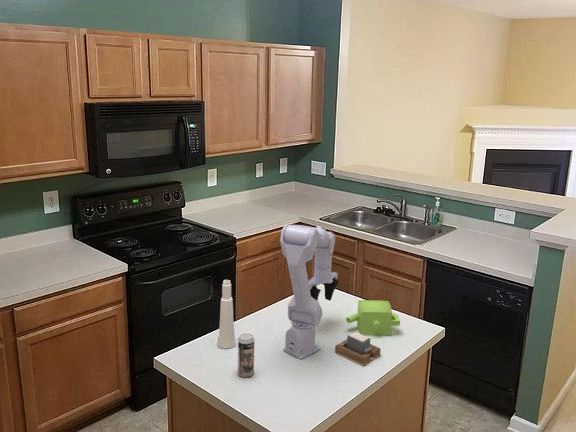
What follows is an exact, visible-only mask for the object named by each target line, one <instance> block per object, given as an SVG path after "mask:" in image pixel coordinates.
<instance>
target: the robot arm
mask: <svg viewBox="0 0 576 432" xmlns="http://www.w3.org/2000/svg"><path fill="white" fill-rule="evenodd" d="M280 232H281V233H280V238H279V243H280V247H281V252H282V256H284V257H285V258H286V261H287V266H288V273H289V277H290V282H291V287H292V293H293V296H292V297H291V299H290V300H289V302H288V304H287V318H288V320H289V321H290V324H291V327H290V328H288V329H287V330H286V332H285V345H284V347H283V351H284V352H286V353H288V354H290V355H292V356H294V357H296V358H297V359H300V360H302V359H304V358H306V357H308V356H311V355H312V354H313V353H316V352H317V351H320V350H321V346H318V345H316V331H317V326H319V325H320V323H321V321H322V318H323V307H322V306H321V305H320V302H319V301H318V300H319V295H320V293H321V291H322V289H319V288H318V286H320V285H323V286H324V298H325V300H327V301H332V297H333V295H334V292H335V290H336V288H337V286H338V285H339V280H338V277H339V275H338V274H339V273H338V272H335V271H332V265H333V264H332V262H333V261H332V258H333V254H334V249H335V244H336V234H335V233H333V231H328V230H326V228H323V226H321V225H320V226H319V225H317V226H316V227H313V226H309V225H300V224H288V223H287V224H285V225H284V226H283V227H282V229H281V231H280ZM313 257H314V264H313V265H314V266H313V276H312V277H311V278H310V279H309V278H308V277H309V276H308V271H307V266H306V265H307V262H309V261H311V260H313Z"/></svg>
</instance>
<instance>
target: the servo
mask: <svg viewBox="0 0 576 432" xmlns="http://www.w3.org/2000/svg"><path fill="white" fill-rule="evenodd" d="M346 336H347V337H346V339H347V340H346V339H345V340H346V341H345V340H344V341H345V344H347V348H348V349H350V350H353V351H355V352H357V353H359V354H361V355H364V354H365V353H368V354H369V351H371V350H372V347H370V344H371V338H370V337H368V336H367V335H361V334H360V333H359V332H357V331H354V332H352V333H350V334H348V335H346Z"/></svg>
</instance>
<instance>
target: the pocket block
mask: <svg viewBox="0 0 576 432" xmlns="http://www.w3.org/2000/svg"><path fill="white" fill-rule="evenodd" d="M346 340H347V338H346V339H344V340H343V341H341V342H339V343H336V344H335V346H334V347H335V348H334V353H335V354H336V355H338V356H341V357H343V358H345V359H347V360H349V361H351V362H353V363H354V364H357V365H358V366H362V367H364V366H366V365H368V364H369V363H371V362H372V361H374V360H376V359H377V358H379V357H381V351H382V350H381V348H380V347H378V346H376V345H374V344H372V343H370V347H372V350H371V351H369V354H368V353H365V354H364V355H361V354H359V353H357V352H355V351H353V350H350V349H348V348H347V344H345V341H346Z"/></svg>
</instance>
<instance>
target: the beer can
mask: <svg viewBox="0 0 576 432" xmlns="http://www.w3.org/2000/svg"><path fill="white" fill-rule="evenodd" d="M237 353H238V354H237V374H238V376H240V377H242V378H243V377H244V378H248V377H252V376H253V375H254V374H255V337H254V335H253V334H251V333H241V334H240V335H239V337H238V338H237Z"/></svg>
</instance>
